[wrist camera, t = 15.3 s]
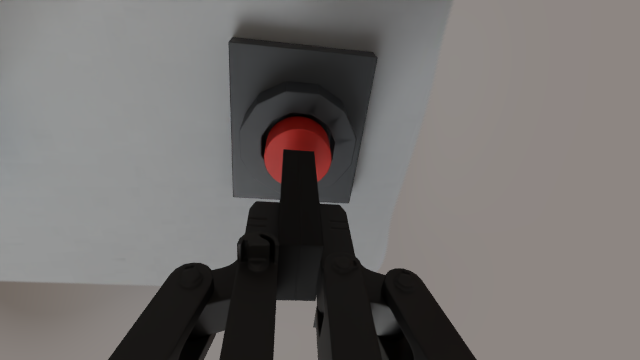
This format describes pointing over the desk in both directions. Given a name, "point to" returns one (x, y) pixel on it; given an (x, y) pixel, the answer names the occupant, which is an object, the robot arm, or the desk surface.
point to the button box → (296, 108)
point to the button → (297, 144)
